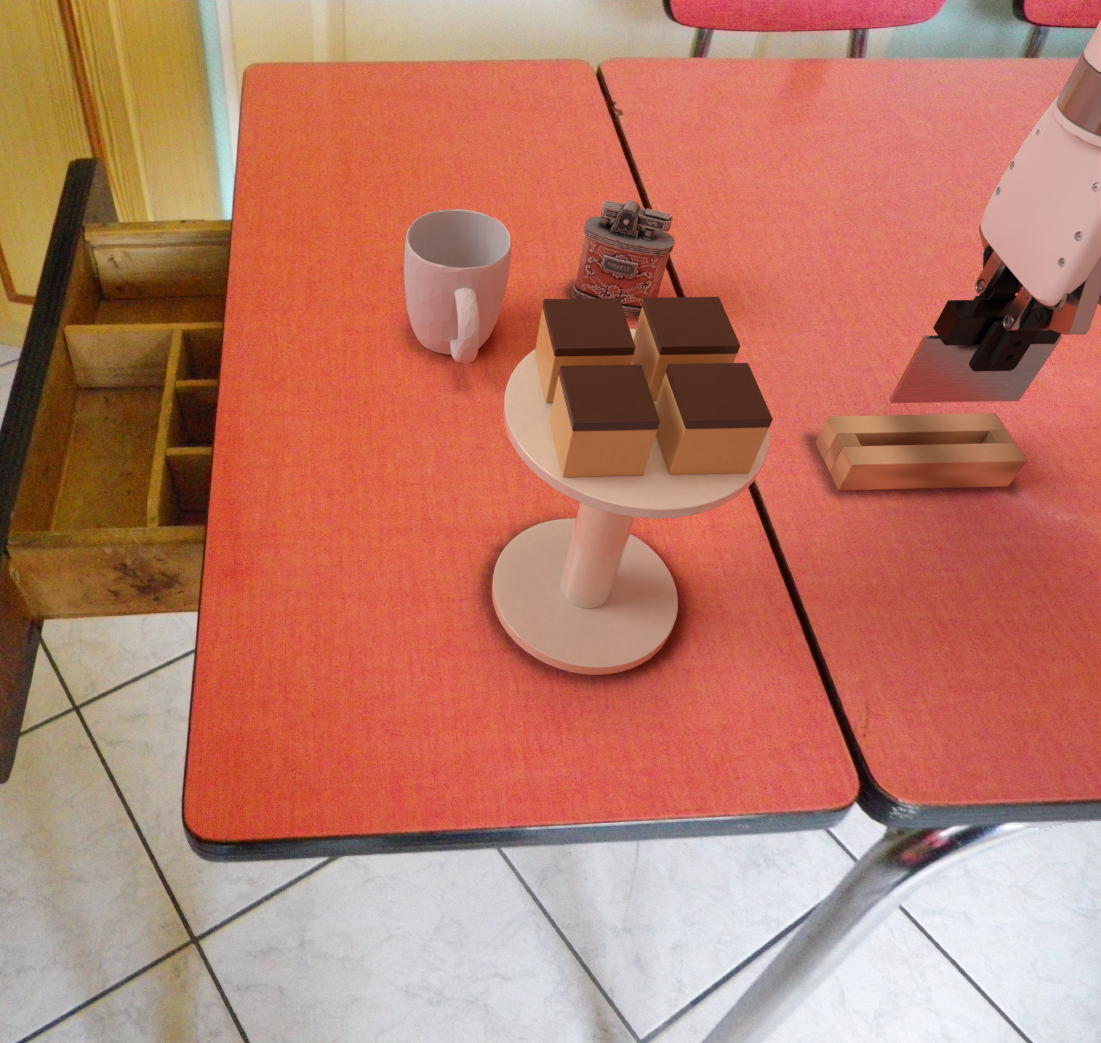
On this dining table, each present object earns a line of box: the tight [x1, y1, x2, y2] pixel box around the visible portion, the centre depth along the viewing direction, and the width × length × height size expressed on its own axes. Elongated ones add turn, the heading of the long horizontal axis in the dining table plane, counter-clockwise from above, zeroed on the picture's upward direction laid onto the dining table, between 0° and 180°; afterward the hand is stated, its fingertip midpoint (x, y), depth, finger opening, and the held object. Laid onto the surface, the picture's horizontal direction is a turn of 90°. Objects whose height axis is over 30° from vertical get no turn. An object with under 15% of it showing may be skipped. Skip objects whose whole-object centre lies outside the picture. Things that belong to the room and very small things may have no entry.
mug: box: [403, 208, 513, 364], centre depth 82 cm, size 13×9×10 cm
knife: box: [888, 299, 1063, 404], centre depth 68 cm, size 10×2×8 cm, turn 93°
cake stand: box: [491, 328, 771, 676], centre depth 61 cm, size 15×15×18 cm
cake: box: [534, 296, 774, 477], centre depth 53 cm, size 10×10×4 cm
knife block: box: [815, 412, 1028, 491], centre depth 76 cm, size 14×5×3 cm, turn 93°
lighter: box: [571, 200, 676, 318], centre depth 87 cm, size 8×3×10 cm, turn 67°
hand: (982, 354), depth 68 cm, fingers closed on knife, 2 cm apart
